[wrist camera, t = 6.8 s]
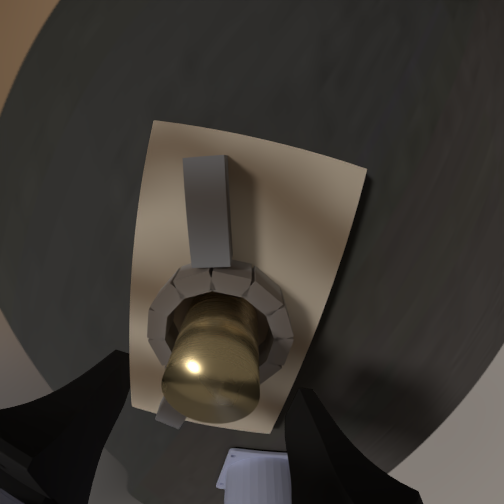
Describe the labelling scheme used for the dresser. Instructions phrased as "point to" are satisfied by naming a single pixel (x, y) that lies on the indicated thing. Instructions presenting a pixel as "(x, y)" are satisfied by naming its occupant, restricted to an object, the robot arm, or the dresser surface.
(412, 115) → the dresser surface
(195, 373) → the cylinder
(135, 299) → the coupling plate
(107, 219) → the dresser surface
